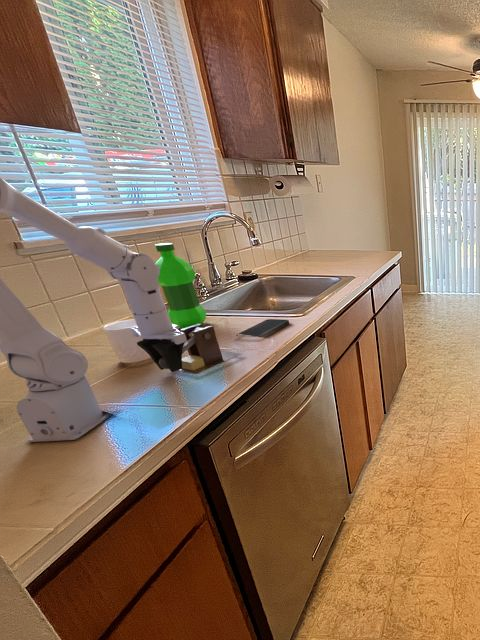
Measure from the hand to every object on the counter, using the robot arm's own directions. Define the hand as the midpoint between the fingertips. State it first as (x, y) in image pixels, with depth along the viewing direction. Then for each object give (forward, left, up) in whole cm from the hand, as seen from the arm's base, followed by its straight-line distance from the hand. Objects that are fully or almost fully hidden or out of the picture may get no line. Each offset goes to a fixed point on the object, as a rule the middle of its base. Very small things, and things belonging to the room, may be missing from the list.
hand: (171, 369), depth 89 cm
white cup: (+11, +16, -3) cm, 19 cm away
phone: (+31, -7, -3) cm, 32 cm away
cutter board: (+7, -3, -3) cm, 9 cm away
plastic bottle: (+38, +19, -3) cm, 43 cm away
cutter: (+4, -2, +2) cm, 5 cm away
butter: (+4, -2, -1) cm, 5 cm away
